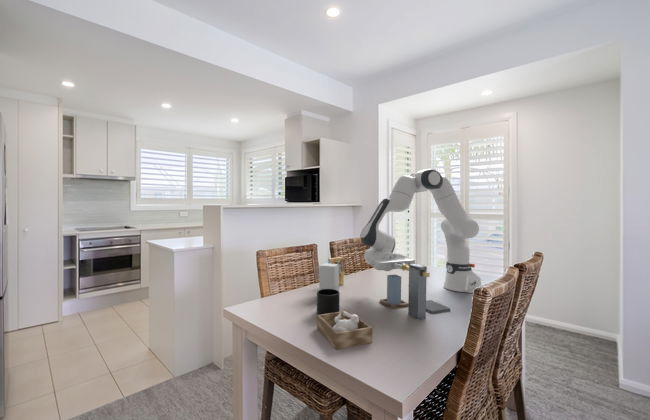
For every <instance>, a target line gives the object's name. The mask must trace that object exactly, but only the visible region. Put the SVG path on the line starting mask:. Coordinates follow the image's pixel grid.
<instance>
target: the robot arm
mask: <svg viewBox="0 0 650 420" xmlns="http://www.w3.org/2000/svg"><path fill="white" fill-rule="evenodd" d="M427 191H429V192H430V193H431V194H432V197H433V199H434V201H435V204H436V205H437V208H438V211H439V212H440V214H441V215H443V216H444V219H443V220H442V221H441V224H440V229H441V231H442V232H443V234H444V235H443V236H444V238H445V242H446V248H447V249H446V250H447V251H446V253H447V254H446V255H447V257H446V258H447V259H446V264H445V268H446V271H445V278H444V279H445V280H444V282H443V285H442V286H443V289H447V290H449V291H453V292H461V293H462V292H463V293H470V294H473V293H474V292H473V290H474V289H475V288H476V287H479V286H484V285H483V284H482V280H481V277H480V276H479V275H478V274H477V273H476V272H474V271H473V270H472V269H473V268H475V267H476V265H475V263H470V247H469V246H468V244H467V242H466V240H467V239H473V238H475V237H476V236H477V235H478V234H479V231H480V227H479V226H480V225H479V224H478V223H477V221H476V220H474V219H473V218H472V217H471V215H469V214H468V212H467V211H466V210H465V208H464V206H462V204H461V202H460V200H459V198H458V195H457V193H456V191H455V189H454V187H453V185H452V183H451V182H450V180H449V179H448V178H447V176H445V175H442V174H441V173H440V172H439V171H438V170H437V169H434V168H427V169H422V170H419V171H417V172H415V173H412V174H410V175H404V174H403V175H401V176H400V177H398V179H397V180H396V182H395V185H394V186H393V188H392V191H391V193H390V195H389V196H388V197H387V198H384V199H382V200H381V201H380V203H379V205H378V206H377V207H376V209H375V211H374V212H373V214H372V215H371V217H370V219H369V220H368V222H367V224H366V225H365V226H364V228H363V229H362V230H361V232H360V235H359V236H360V242H361V243H362V244H363V245H364V246H368V247H370V248H368V249H366V250H365V251H364V254H363V258H364V260H365V262H366V263H367V264H368V265H370V266H371V267H372V269H374V270H377V271H384V272H390V271H393V270H402V265H405V264H407V265H408V266H409V264H416V260H415V259H414V258H412V257H411V256H410V257H409V256H406V255H404V254H402V253H395V252H394V250H395V248H396V239H395V237H394V236H393V235H391V234H389V233H387V232H385V231H383V230H381V229H379V225H380V224H381V222H382V221H383V219H384V217H385V216H386V214H388V213H390V212H393V213H401V212H405V211H407V210H408V209H409V208H410V206H411V204H412V201H413V198H414V195H415V193H421V192H422V193H423V192H427ZM393 252H394V253H393Z"/></svg>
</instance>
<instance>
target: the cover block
mask: <svg viewBox="0 0 650 420" xmlns="http://www.w3.org/2000/svg"><path fill="white" fill-rule="evenodd" d="M386 298H387V303H388V304H390V305H397V304H402V303H401V300H402V276H400V275H398V274H387V276H386Z"/></svg>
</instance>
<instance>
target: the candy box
mask: <svg viewBox="0 0 650 420" xmlns="http://www.w3.org/2000/svg"><path fill="white" fill-rule="evenodd" d="M327 263H329V264H339V286H344V282H345V281H344V280H345V279H344V278H345V258H344V257H343V256H342V257H341V256H336V257H331V258H327Z"/></svg>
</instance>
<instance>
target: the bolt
mask: <svg viewBox="0 0 650 420" xmlns="http://www.w3.org/2000/svg"><path fill="white" fill-rule="evenodd" d="M401 271H407V272H409V266H408V265H407V264H405V265H402V269H401ZM421 275H422V276H425V277H427V278H430V275H431V274H430V272H429V271H427V272H426V271H422V270H421Z"/></svg>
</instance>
